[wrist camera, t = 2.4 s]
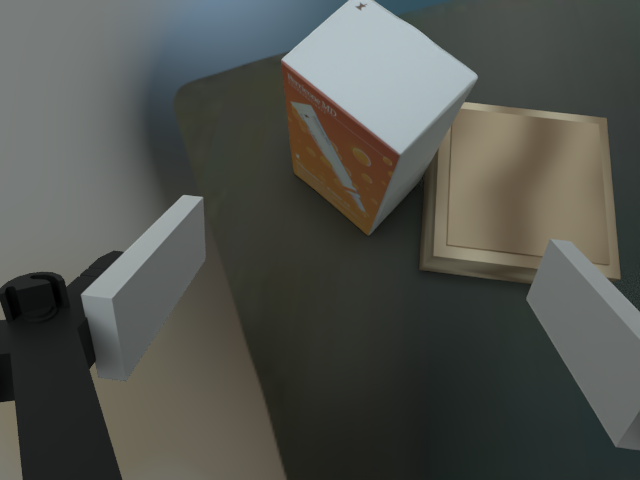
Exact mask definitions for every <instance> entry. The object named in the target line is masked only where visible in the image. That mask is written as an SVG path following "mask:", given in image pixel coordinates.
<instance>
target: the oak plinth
mask: <svg viewBox="0 0 640 480" xmlns="http://www.w3.org/2000/svg"><path fill="white" fill-rule="evenodd" d="M550 239H556V240H565V241H571V242H572V243H573V244H574V245H575V246H576V247H577V248H578V249H579V250H580V251H581V252H582V253H583V254H584V255H585V256H586V257H587V258H588V259H589V260H590V262H591V263H592V264H593V265H594V266H595V267H596V268H597V269H598V270H599V271H600V272H601V273H602V274H603V275H604V276H605V277H606V278H607V279H608V280H609V281H610V282H613V281H616V280H619V279H621V277H620V266H619V254H618V243H617V232H616V220H615V209H614V198H613V186H612V175H611V163H610V152H609V141H608V129H607V118H601V117H592V116H584V115H575V114H566V113H557V112H548V111H539V110H530V109H521V108H512V107H503V106H494V105H485V104H476V103H468V102H464V103H463V105H462V106H461V108H460V110H459V112H458V114H457V115H456V117H455V119H454V121H453V123H452V124H451V126H450V128H449V130H448V132H447V133H446V135H445V137H444V139H443V140H442V142H441V144H440V146H439V148H438V150H437V151H436V153H435V155H434V157H433V159H432V160H431V162H430V164H429V166H428V168H427V169H426V171H425V178H424V195H423V212H422V229H421V246H420V263H419V270H424V271H432V272H440V273H448V274H456V275H464V276H472V277H480V278H488V279H496V280H504V281H512V282H520V283H528V284H532V283H533V280H534V278H535V275H536V273H537V270H538V268H539V265H540V263H541V260H542V258H543V255H544V253H545V250H546V247H547V245H548V242H549V240H550Z"/></svg>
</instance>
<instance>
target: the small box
mask: <svg viewBox="0 0 640 480" xmlns="http://www.w3.org/2000/svg"><path fill="white" fill-rule="evenodd" d="M281 63H282V71H283V81H284V90H285V99H286V109H287V119H288V127H289V137H290V146H291V155H292V164H293V172H294V174H295V175H297V176H298V177H299V178H301V179H302V180H303V181H304V182H306V183H307V184H308V185H309V186H311V187H312V188H313V189H314V190H315V191H317V192H318V193H319V194H320V195H321V196H322V197H324V198H325V199H326V200H327V201H328V202H330V203H331V204H332V205H333V206H334V207H335V208H337V209H338V210H339V211H340V212H341V213H342V214H344V215H345V216H346V217H347V218H348V219H349V220H350V221H352V222H353V223H354V224H355V225H356V226H357V227H358V228H359V229H361V230H362V231H363V232H364V233H365V234H366V235H368V236H369V235H370V234H371V233H372V232H373V231H374V230H375V229H376V228H377V227H378V226H379V225H380V223H381V222H382V221H383V220H384V219H385V218H386V217H387V216H388V215H389V214H390V213H391V212H392V211H393V210H394V209H395V207H396V206H397V205H398V204H399V203H400V202H401V201H402V200H403V199H404V198H405V197H406V196H407V195H408V194H409V193H410V192H411V190H412V189H413V188H414V187H415V186H416V185H417V184H418V183H419V181H420V180H421V178H422V176H423V175H424V173H425V171H426V169H427V168H428V166H429V164H430V162H431V160H432V159H433V157H434V155H435V153H436V151H437V150H438V148H439V146H440V144H441V142H442V140H443V139H444V137H445V135H446V133H447V132H448V130H449V128H450V126H451V124H452V123H453V121H454V119H455V117H456V115H457V114H458V112H459V110H460V108H461V106H462V105H463V103H464V101H465V99H466V98H467V96H468V94H469V92H470V91H471V89H472V87H473V86H474V84H475V82H476V81H477V79H478V76H477V74H476V73H475V72H473V71H472V70H470V69H469V68H468V67H467V66H465V65H464V64H462V63H461V62H459V61H458V60H457V59H456V58H454V57H453V56H452V55H450V54H449V53H447V52H446V51H444V50H443V49H442V48H440V47H439V46H438V45H436V44H435V43H434V42H433V41H431V40H430V39H429V38H428V37H426V36H425V35H424V34H423V33H422V32H420V31H419V30H417V29H416V28H415V27H413V26H412V25H410V24H408V23H407V22H405V21H403V20H402V19H400V18H398V17H397V16H395V15H394V14H392V13H391V12H389V11H388V10H386V9H385V8H384V7H382V6H381V5H379V4H378V3H376V2H375V1H373V0H349V1H348V2H346V4H344V5H343V6H342V7H341V8H339V9H338V10H337V11H336V12H335V13H334V14H332V15H331V16H330V17H329V18H328V19H327V20H326V21H324V22H323V23H322V24H321V25H320V26H319V27H318V28H316V29H315V30H314V31H313V32H312V33H311V34H310V35H309V36H308V37H306V38H305V39H304V40H303V41H302V42H301V43H300V44H298V45H297V46H296V47H295V48H294V49H293V50H292V51H291V52H289V53H288V54H287V55H286V56H285V57H284V58H282V60H281Z"/></svg>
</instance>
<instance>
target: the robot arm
mask: <svg viewBox="0 0 640 480" xmlns="http://www.w3.org/2000/svg"><path fill="white" fill-rule="evenodd" d="M205 259H206V256H205V231H204V206H203V197H197V196H187V195H183V196H182V197H181V198H180V199H179V200H178V201H177V202H176V203H175V204H174V205H173V206H172V207H170V208H169V209H168V210H167V212H165V213H164V214H163V215H162V216H161V217H160V218H159V219H158V220H157V221H156V222H155V223H154V224H153V225H152V226H151V227H150V228H149V229H148V230H147V231H146V232H145V233H144V234H143V235H142V236H141V237H140V238H139V239H138V240H137V241H135V242H134V243H133V244H132V245H131V246H130V247H129V248H128V249H127V250H126V251H125V252H120V251H112V252H110V253H108V254H106V255H104V256H102V257H100V258H98V259H97V260H96V261H95V262H94V263H93V264H92V265H90V266H89V268H88V269H86V270H85V271H84V272H83V273H81V275H80V277H77V278H76V279H75V280H74V281H73V282H71V284H69V285H68V286H67V287H66V285H65V281H64V279H63V278H62V276H61V275H58V274H56V273H53V272H37V273H29V274H26V275H23V276H19V277H17V278H14V279H13V280H11V281H8V282H7V283H6V284H5V285H3V286H2V287H1V288H0V302H1V305H2V308H3V311H4V314H5V317H6V320H0V402H6V401H13V400H15V406H16V416H17V426H18V436H19V446H20V457H21V467H22V476H23V480H122V477H121V474H120V471H119V467H118V464H117V460H116V457H115V454H114V450H113V447H112V444H111V440H110V437H109V434H108V430H107V427H106V424H105V421H104V417H103V414H102V410H101V407H100V404H99V400H98V397H97V394H96V391H95V387H94V383H93V380H92V377H91V373H90V370H89V369H90V368H91V366H92V365H93V364H94V362H95V363H96V368H97V373H98V377H99V378H105V379H112V380H120V381H126V380H127V379H128V377H129V376H130V374H131V373H132V371H133V370H134V368H135V367H136V365H137V364H138V362H139V361H140V359H141V358H142V356H143V354H144V353H145V351H146V350H147V348H148V346H149V345H150V344H151V342H152V341H153V339H154V338H155V336H156V334H157V333H158V331H159V330H160V328H161V327H162V325H163V324H164V322H165V321H166V319H167V318H168V316H169V315H170V313H171V311H172V310H173V309H174V307H175V305H176V304H177V302H178V301H179V299H180V298H181V296H182V295H183V293H184V292H185V290H186V289H187V287H188V286H189V284H190V282H191V281H192V279H193V278H194V276H195V275H196V273H197V272H198V270H199V269H200V267H201V265H202V264H203V263H204V261H205ZM526 300H527V301H528V303H529V305H530V306H531V308H532V310H533V311H534V313H535V315H536V316H537V318H538V320H539V321H540V323H541V325H542V326H543V328H544V329H545V331H546V333H547V334H548V336H549V338H550V339H551V341H552V343H553V344H554V346H555V348H556V349H557V351H558V353H559V354H560V356H561V357H562V359H563V361H564V362H565V364H566V366H567V367H568V369H569V371H570V372H571V374H572V376H573V377H574V379H575V381H576V382H577V384H578V385H579V387H580V389H581V390H582V392H583V394H584V395H585V397H586V399H587V400H588V402H589V404H590V405H591V407H592V409H593V410H594V412H595V413H596V415H597V417H598V418H599V420H600V422H601V423H602V425H603V427H604V428H605V430H606V432H607V433H608V435H609V437H610V438H611V440H612V441H613V443H614V445H615V446H616V447H619V448H627V449H634V450H640V312H639V311H638V310H637V309H636V308H635V307H634V306H633V305H632V304H631V303H630V302H629V300H628V299H627V298H626V297H625V296H624V295H623V294H622V293H621V292H620V291H619V290H618V289H617V288H616V287H615V286H614V285H613V284H612V283H611V282H610V281H609V280H608V279H607V278H606V277H605V276H604V275H603V274H602V273H601V272H600V271H599V270H598V269H597V268H596V267H595V266H594V265H593V264H592V263H591V262H590V260H589V259H588V258H587V257H586V256H585V255H584V254H583V253H582V252H581V251H580V250H579V249H578V248H577V247H576V246H575V245H574V244H573V243H572V242H571V241H565V240H556V239H550V240H549V242H548V245H547V247H546V250H545V253H544V255H543V258H542V260H541V263H540V265H539V268H538V270H537V273H536V275H535V278H534V280H533V283H532V285H531V288H530V290H529V293H528V295H527V298H526Z"/></svg>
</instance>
